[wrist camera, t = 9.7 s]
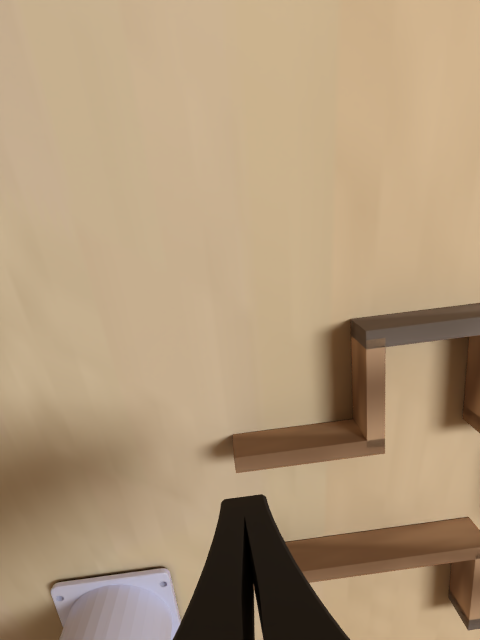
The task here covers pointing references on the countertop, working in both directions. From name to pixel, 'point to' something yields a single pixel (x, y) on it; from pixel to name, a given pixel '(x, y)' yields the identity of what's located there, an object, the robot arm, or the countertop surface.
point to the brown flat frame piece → (369, 439)
